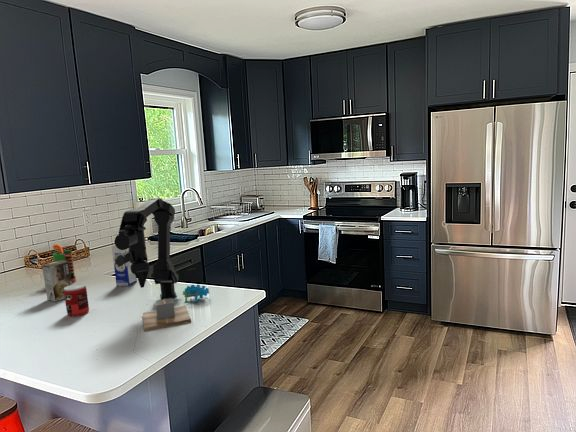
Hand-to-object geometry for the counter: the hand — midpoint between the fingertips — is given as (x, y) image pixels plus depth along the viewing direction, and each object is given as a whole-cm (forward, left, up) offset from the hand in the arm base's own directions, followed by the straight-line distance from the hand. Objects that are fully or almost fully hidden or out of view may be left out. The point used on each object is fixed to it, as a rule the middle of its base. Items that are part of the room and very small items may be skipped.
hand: (142, 284), depth 162 cm
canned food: (-16, -25, -12) cm, 32 cm away
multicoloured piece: (-70, -36, -12) cm, 80 cm away
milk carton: (-49, -7, -12) cm, 51 cm away
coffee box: (-43, -35, -12) cm, 57 cm away
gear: (-7, +20, -12) cm, 25 cm away
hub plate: (+9, +7, -12) cm, 17 cm away
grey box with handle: (+9, +7, -11) cm, 16 cm away
